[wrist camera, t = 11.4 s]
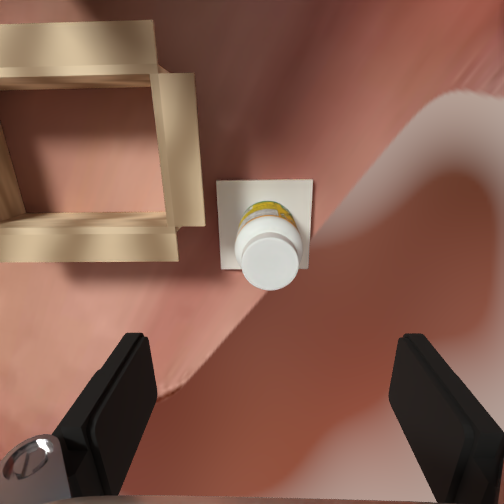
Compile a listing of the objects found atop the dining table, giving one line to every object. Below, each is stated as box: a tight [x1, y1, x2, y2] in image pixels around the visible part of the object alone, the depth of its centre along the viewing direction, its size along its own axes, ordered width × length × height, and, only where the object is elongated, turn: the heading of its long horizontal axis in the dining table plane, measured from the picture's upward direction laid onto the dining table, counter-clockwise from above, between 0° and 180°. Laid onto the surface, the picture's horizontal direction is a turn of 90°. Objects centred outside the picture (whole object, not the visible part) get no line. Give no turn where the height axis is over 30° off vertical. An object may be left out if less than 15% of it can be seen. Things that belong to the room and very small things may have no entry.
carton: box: [0, 20, 206, 262], centre depth 26 cm, size 22×17×6 cm
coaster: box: [216, 179, 313, 269], centre depth 30 cm, size 9×9×1 cm
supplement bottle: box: [235, 200, 303, 290], centre depth 25 cm, size 5×5×10 cm
